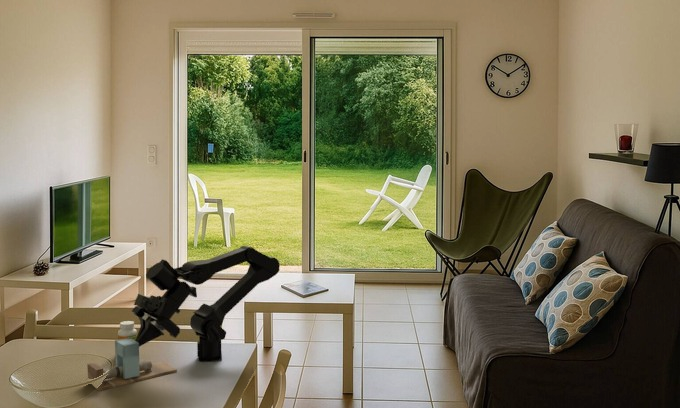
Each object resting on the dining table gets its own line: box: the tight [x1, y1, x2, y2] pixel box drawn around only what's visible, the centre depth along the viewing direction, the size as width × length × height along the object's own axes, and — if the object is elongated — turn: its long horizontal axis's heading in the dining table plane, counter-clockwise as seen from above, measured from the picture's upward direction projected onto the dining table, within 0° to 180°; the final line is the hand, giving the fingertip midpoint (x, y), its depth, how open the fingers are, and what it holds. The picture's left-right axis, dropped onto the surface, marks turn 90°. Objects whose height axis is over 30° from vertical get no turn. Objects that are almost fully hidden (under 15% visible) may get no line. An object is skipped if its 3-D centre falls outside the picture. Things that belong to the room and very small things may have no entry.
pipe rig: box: [86, 359, 178, 391], centre depth 184 cm, size 22×8×5 cm, turn 131°
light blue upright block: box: [114, 338, 140, 379], centre depth 182 cm, size 4×6×9 cm, turn 41°
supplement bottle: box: [117, 320, 138, 340], centre depth 201 cm, size 5×5×10 cm
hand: (135, 346), depth 184 cm, fingers closed, pressing on light blue upright block
